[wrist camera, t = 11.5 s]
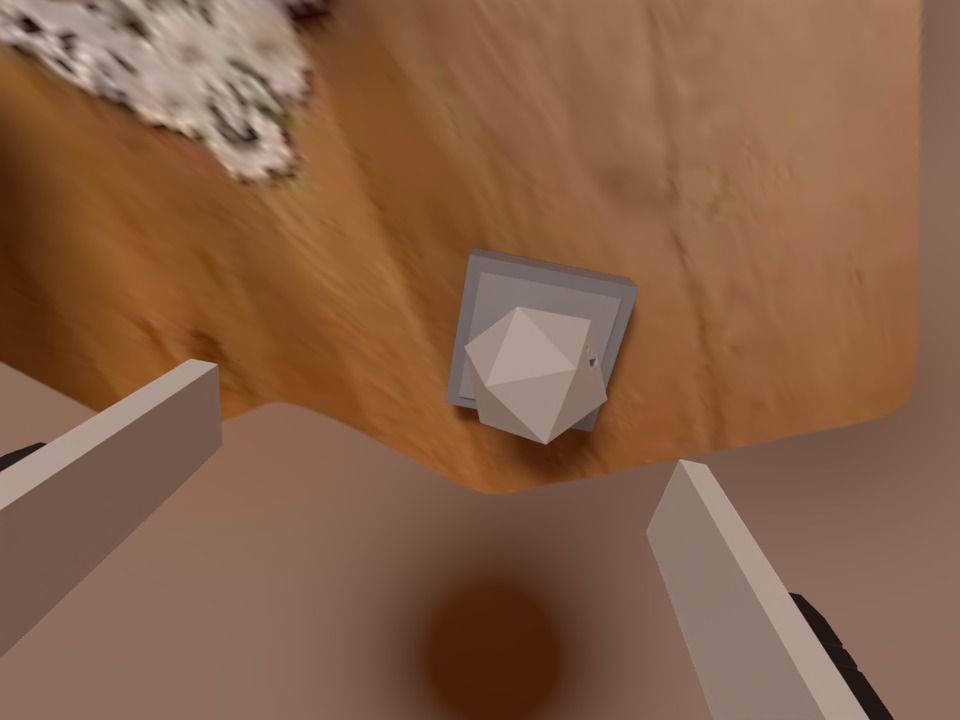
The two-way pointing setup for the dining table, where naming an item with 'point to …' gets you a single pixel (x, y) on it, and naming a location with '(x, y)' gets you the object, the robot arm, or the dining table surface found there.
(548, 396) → the die
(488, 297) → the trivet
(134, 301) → the dining table surface
